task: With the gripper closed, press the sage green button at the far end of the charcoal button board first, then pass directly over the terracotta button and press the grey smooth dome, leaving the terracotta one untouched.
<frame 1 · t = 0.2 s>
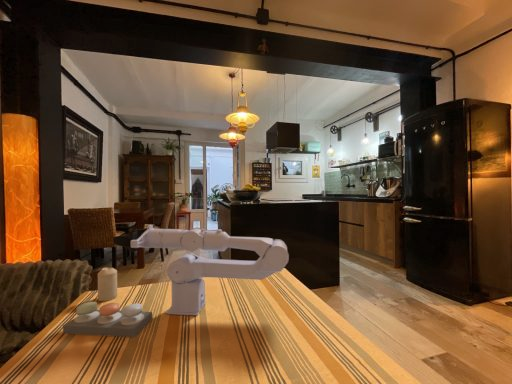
hand: (123, 237, 71), 21 cm above the table, tool horizontal, fingers open, 7 cm apart
terracotta button: (109, 309, 61), point 4 cm above the table, slide at 0.0 cm
button board: (109, 325, 61), on the table
green button: (87, 308, 62), point 4 cm above the table, slide at 0.0 cm
candle: (107, 298, 78), on the table
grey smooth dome: (132, 310, 60), point 4 cm above the table, slide at 0.0 cm
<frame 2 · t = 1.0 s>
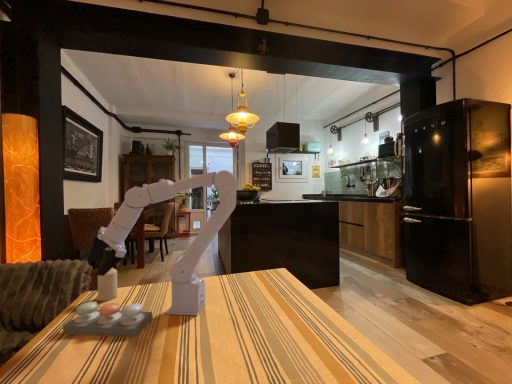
hand: (95, 267, 65), 14 cm above the table, tool tilted 30°, fingers open, 7 cm apart
nothing on the table moved.
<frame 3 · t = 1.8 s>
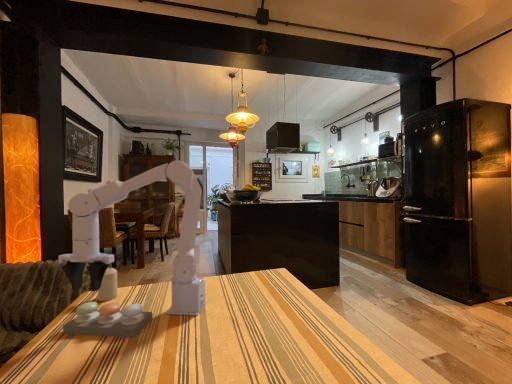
hand: (86, 289, 62), 9 cm above the table, tool pointing down, fingers open, 5 cm apart
nothing on the table moved.
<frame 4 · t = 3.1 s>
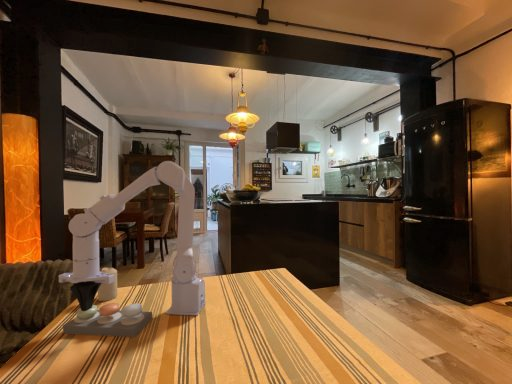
hand: (86, 309, 62), 4 cm above the table, tool pointing down, fingers closed, pressing on green button
green button: (87, 311, 62), point 3 cm above the table, slide at 0.9 cm, touching gripper
everything else where it was.
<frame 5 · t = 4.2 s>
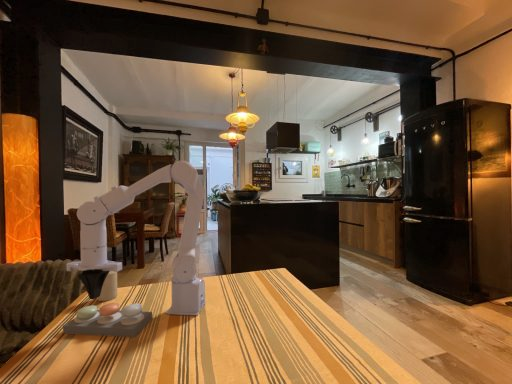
hand: (94, 297, 61), 7 cm above the table, tool pointing down, fingers closed
green button: (87, 312, 62), point 3 cm above the table, slide at 1.0 cm
everything else where it was.
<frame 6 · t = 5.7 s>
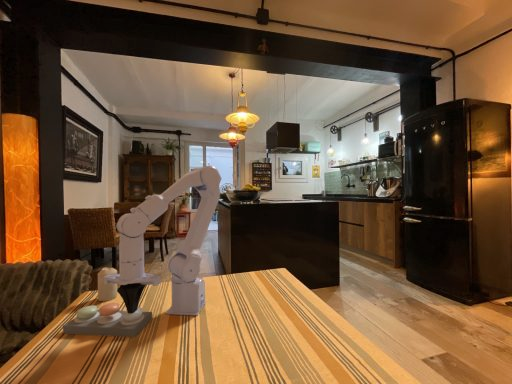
hand: (132, 311, 60), 4 cm above the table, tool pointing down, fingers closed, pressing on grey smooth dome
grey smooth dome: (132, 314, 60), point 3 cm above the table, slide at 1.0 cm, touching gripper
everything else where it was.
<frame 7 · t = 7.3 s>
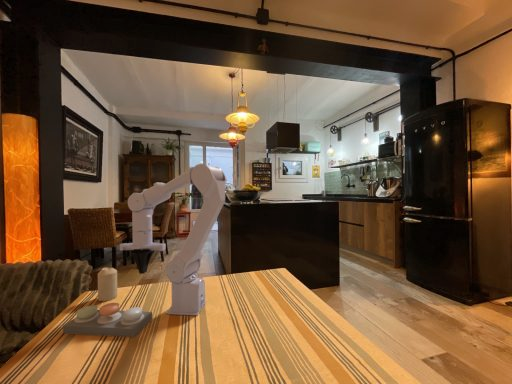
hand: (143, 272, 74), 9 cm above the table, tool pointing down, fingers closed
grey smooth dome: (132, 314, 60), point 3 cm above the table, slide at 1.0 cm
everything else where it was.
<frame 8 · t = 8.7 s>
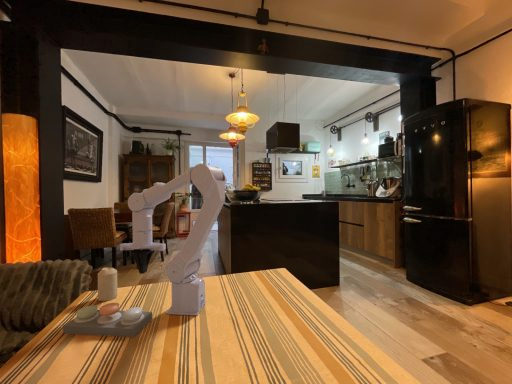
hand: (143, 272, 74), 9 cm above the table, tool pointing down, fingers closed
nothing on the table moved.
at the end: green button slide at 1.0 cm; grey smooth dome slide at 1.0 cm; terracotta button slide at 0.0 cm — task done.
